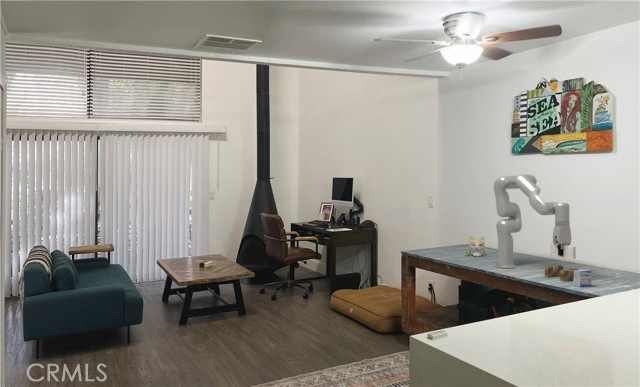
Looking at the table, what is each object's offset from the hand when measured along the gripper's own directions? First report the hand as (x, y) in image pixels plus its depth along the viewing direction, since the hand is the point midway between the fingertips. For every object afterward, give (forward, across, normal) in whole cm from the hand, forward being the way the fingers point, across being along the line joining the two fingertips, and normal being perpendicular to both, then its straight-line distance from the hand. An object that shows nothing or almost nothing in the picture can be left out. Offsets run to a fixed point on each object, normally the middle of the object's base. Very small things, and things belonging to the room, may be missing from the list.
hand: (562, 255), depth 275 cm
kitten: (+12, -4, -81) cm, 82 cm away
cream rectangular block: (+1, 0, 0) cm, 1 cm away
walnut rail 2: (+14, 0, +5) cm, 14 cm away
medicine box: (+14, +5, +17) cm, 23 cm away
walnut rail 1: (+13, 0, -6) cm, 15 cm away
